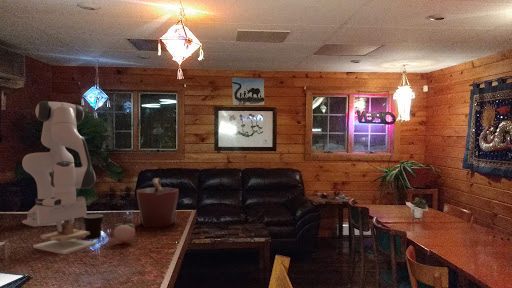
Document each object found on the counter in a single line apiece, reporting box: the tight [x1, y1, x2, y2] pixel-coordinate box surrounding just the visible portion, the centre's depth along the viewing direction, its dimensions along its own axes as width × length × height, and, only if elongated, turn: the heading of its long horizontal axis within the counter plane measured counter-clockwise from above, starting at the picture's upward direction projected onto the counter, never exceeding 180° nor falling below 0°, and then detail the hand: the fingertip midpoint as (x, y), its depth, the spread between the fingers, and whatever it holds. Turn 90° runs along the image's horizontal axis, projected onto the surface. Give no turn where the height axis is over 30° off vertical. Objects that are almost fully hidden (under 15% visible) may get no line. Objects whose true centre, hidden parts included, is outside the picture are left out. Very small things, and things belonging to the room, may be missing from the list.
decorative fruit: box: [113, 221, 136, 244], centre depth 175 cm, size 9×8×10 cm
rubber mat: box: [32, 238, 97, 255], centre depth 171 cm, size 20×16×1 cm
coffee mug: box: [83, 213, 104, 240], centre depth 188 cm, size 12×9×10 cm
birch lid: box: [39, 222, 90, 242], centre depth 171 cm, size 14×14×5 cm
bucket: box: [136, 177, 180, 228], centre depth 214 cm, size 24×22×25 cm
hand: (65, 230), depth 171 cm, fingers closed on birch lid, 3 cm apart
